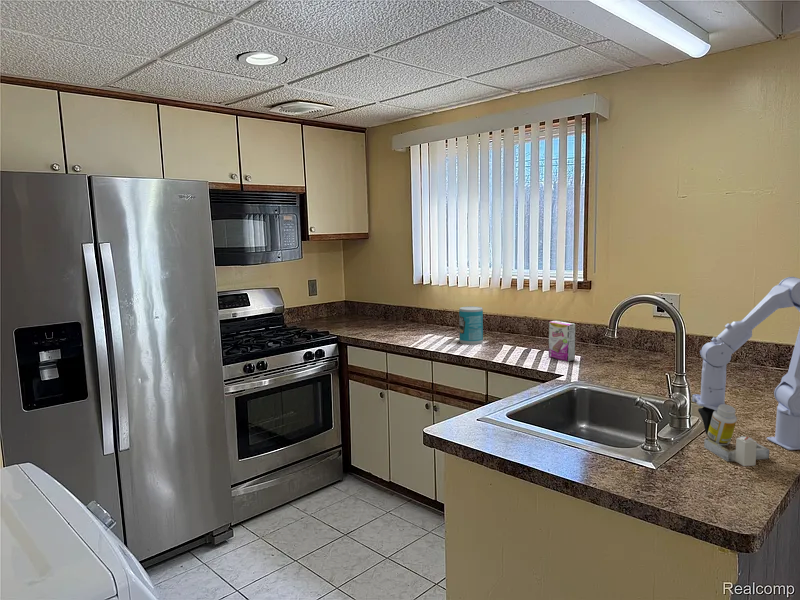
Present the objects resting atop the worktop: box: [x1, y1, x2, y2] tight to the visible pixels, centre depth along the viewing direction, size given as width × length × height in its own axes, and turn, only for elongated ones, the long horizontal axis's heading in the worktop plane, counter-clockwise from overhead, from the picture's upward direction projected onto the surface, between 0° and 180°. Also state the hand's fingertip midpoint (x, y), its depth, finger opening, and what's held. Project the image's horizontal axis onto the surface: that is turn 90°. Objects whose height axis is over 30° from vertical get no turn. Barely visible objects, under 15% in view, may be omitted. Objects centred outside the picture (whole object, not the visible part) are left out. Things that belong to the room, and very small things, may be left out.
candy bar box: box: [548, 320, 576, 363], centre depth 243 cm, size 11×5×16 cm, turn 34°
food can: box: [458, 305, 484, 346], centre depth 282 cm, size 12×12×18 cm
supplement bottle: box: [706, 403, 738, 447], centre depth 145 cm, size 6×6×10 cm
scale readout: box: [734, 436, 758, 467], centre depth 134 cm, size 3×3×6 cm
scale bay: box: [703, 435, 770, 463], centre depth 140 cm, size 11×9×2 cm
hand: (710, 434), depth 150 cm, fingers closed
